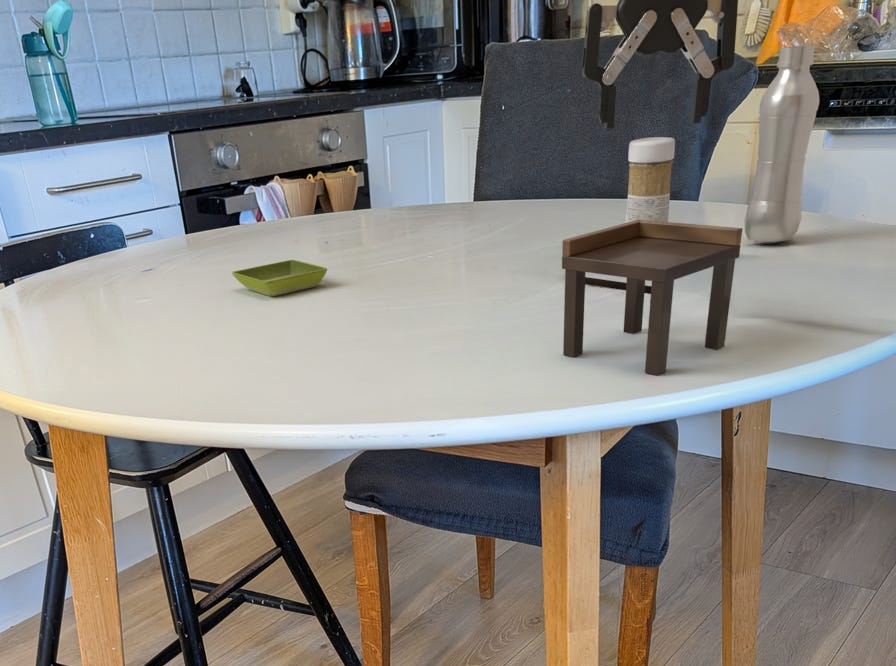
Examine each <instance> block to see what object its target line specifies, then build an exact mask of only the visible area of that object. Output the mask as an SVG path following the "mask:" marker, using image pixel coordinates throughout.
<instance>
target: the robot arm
mask: <svg viewBox="0 0 896 666" xmlns="http://www.w3.org/2000/svg"><path fill="white" fill-rule="evenodd" d="M738 7H739V0H618V2H617V4H616V5H602V4H601V3H597V2H596V3H593V4H590V5H589V6H588V7H587V9H586V15H585V27H584V28H585V29H584V41H583V50H582V62H581V75H582V77H583V78H585V79H588V80H590V81H594V82H596V83H597V85H598V88H599V90H598V112H597V113H598V115H597V116H598V120H599V123H601V124H603V127H604V129H605V130H613V129H614V128H615V115H616V114H615V113H616V98H617V85H615V81H616V79H617V78H618V76H619V74H620V73H621V72H622V70H623V69H624V68H625V66H626V65H627V64H628V62H629V61H630V60H631V58H632V57H633V55H634V54H635V53H636V54H639V55H642V56H643V55H644V56H645V55H653V54H655V53H658V52H659V53H664V54H670V53H672V54H673V53H676V52H678V51H680V50H681V52H682V54H683V55H684V57H685V59H686V60H688V62H689V65H691V67H692V69H693V71H694V72H695V79H693V80H692V86H691V87H692V88H691V96H690V97H691V98H690V107H689V108H690V109H689V117H688V118H689V119H688V123H689V124H691V125H696V124H697V125H698V124H701V121H702V117H706V116H707V114H708V112H709V108H710V107H709V105H710V98H711V97H710V96H711V89H712V81H713V78H714V77H715V76H716V75H717V74H719V73H721V72H724V71H725V70H729V69H731V68H732V67H733V66H734V64H735V54H736V37H737V24H738V23H737V22H738V9H739V8H738ZM707 12H709V14H710V19H711V21H712V22H713V23H714V24H717V28H716V43H715V44H716V46H715V57H713V58H712V59H710V58H709V56H708V54H707V52H706V50H705V47H704V45H703V43H702V42H701V40H700V38H699V36H698V35H697V32H696V31H695V30H696V28H697V27H698V25H699V24H700V22H701V21H702V19H703V18H704V16H705V15H706V13H707ZM614 18H615V19H614ZM613 19H614V20H615V21H616V23H617V25H618V26H619V28H620V30H621V32H622V33H623V35H624V37H623V38H622V39H621V41H620V42H619V44H618V46H617V47H616V48H615V50H614V52H613V53H612V56H611V57H610V59H609V60H608V62H607V63H606V65H604V67H602V66H599V65H598V63H599V52H600V41H601V33H603V32H605V31H607V30H608V28H609V26H610V22H611V21H612V20H613Z"/></svg>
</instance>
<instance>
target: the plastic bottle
mask: <svg viewBox="0 0 896 666" xmlns="http://www.w3.org/2000/svg"><path fill="white" fill-rule="evenodd" d="M778 52H779V54H778V60H777V62H776V68H778V72H777V74H776V76H775V77H773V80H772V81H771V83H770V84H769V85H768V87H766V90H765V91H764V93H763V94H762V97H761V100H760V103H759V109H758V111H759V112H758V113H759V116H758V150H757V158H758V159H757V162H756V170H755V176H754V181H753V185H752V191H751V194H750V200H749V202H748V204H747V207H746V212H745V216H744V234H745V235H746V239H748V240H749V241H754V242H757V243H761V244H766V245H770V244H775V243H781V242H784V241H785V242H786V241H788V240H792V239H793V238H794V237H795V235H796V234H797V232H798V231H799V228H800V225H801V221H802V211H803V210H802V209H803V207H802V206H803V204H802V199H801V197H802V190H803V177H804V167H805V162H806V155H807V153H808V148H809V142H810V138H811V134H812V131H813V127H814V123H815V120H816V116H817V111H818V110H819V106H820V94H819V93H820V92H819V90H818V87H817V84H816V82H815V80H814V78H813V76H812V74H811V72H810V67H811V66H812V65H814V53H815V44H808V45H807V44H806V45H794V46H783V47H780V49H779V51H778Z"/></svg>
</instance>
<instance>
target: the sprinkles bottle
mask: <svg viewBox="0 0 896 666" xmlns="http://www.w3.org/2000/svg"><path fill="white" fill-rule="evenodd" d="M675 147H676V140H675V138H674V137H667V136H653V137H642V138H637V139H633V140H631V141H630V142H629V145H628V155H627V156H628V158H627V161H628V162H629V164H628V166H629V173H628V187H627V203H626V214H625V223H627V222H631V221H635V220H649V221H661V222H669V213H670V212H669V211H670V200H671V192H670V191H671V178H672V165H673V164H674V161H673V160H674V158H675V149H676V148H675Z"/></svg>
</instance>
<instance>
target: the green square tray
mask: <svg viewBox="0 0 896 666" xmlns="http://www.w3.org/2000/svg"><path fill="white" fill-rule="evenodd" d="M327 271H328V268H327V267H325V266H320V265H317V264H313V263H309V262H304V261H301V260H297V259H288V260H283V261H277V262H273V263H268V264H262V265H258V266H253V267H248V268H244V269H238V270H235V271H234V270H233V271H232V272H231V274H232V275H233V277H234V278H235V279H236V280H237V281H238V282H239V283H240V284H241V285H242V286H243V287H245V288H246V289H247V290H250V291H253V292H256V293H259V294H262V295H266V296H268V297H276V296H281V295H286V294H290V293H294V292H299V291H303V290H307V289H313V288H316V287H317V286H318V285H319V283H321V281H322V280H323V279H324V277H325V276H326V274H327Z"/></svg>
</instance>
